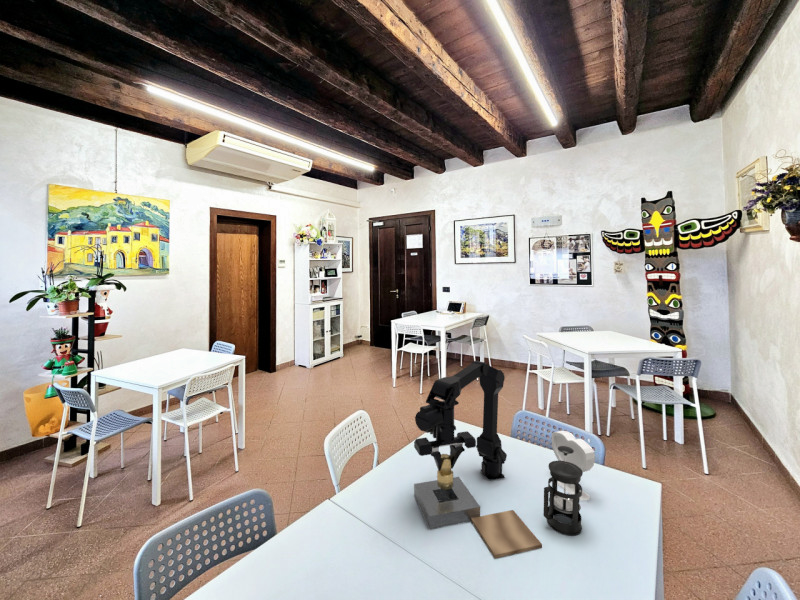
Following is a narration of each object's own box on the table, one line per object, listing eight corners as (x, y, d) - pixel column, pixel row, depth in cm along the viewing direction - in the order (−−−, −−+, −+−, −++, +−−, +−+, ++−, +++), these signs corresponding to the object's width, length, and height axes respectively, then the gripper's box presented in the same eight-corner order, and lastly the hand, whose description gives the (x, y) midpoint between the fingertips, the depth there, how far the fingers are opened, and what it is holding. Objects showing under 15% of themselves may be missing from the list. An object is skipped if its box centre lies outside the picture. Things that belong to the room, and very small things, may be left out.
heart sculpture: (548, 476, 125) (549, 428, 123) (560, 473, 126) (561, 426, 125) (583, 503, 110) (584, 449, 109) (595, 500, 111) (597, 446, 110)
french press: (568, 510, 107) (569, 438, 105) (591, 532, 98) (594, 453, 96) (535, 516, 104) (536, 443, 102) (556, 540, 95) (557, 459, 93)
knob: (449, 478, 112) (449, 451, 111) (455, 487, 107) (455, 459, 106) (434, 481, 110) (434, 454, 110) (440, 490, 106) (440, 462, 105)
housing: (458, 487, 119) (458, 476, 119) (480, 519, 103) (480, 506, 103) (414, 495, 115) (414, 483, 115) (429, 529, 100) (429, 516, 99)
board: (512, 512, 106) (512, 509, 106) (542, 547, 92) (542, 544, 92) (471, 521, 103) (471, 518, 103) (494, 558, 89) (494, 555, 89)
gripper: (460, 407, 117) (461, 452, 119) (408, 414, 112) (409, 460, 113) (476, 421, 107) (476, 469, 108) (419, 429, 102) (420, 479, 103)
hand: (445, 469), depth 108 cm, fingers closed on knob, 4 cm apart
